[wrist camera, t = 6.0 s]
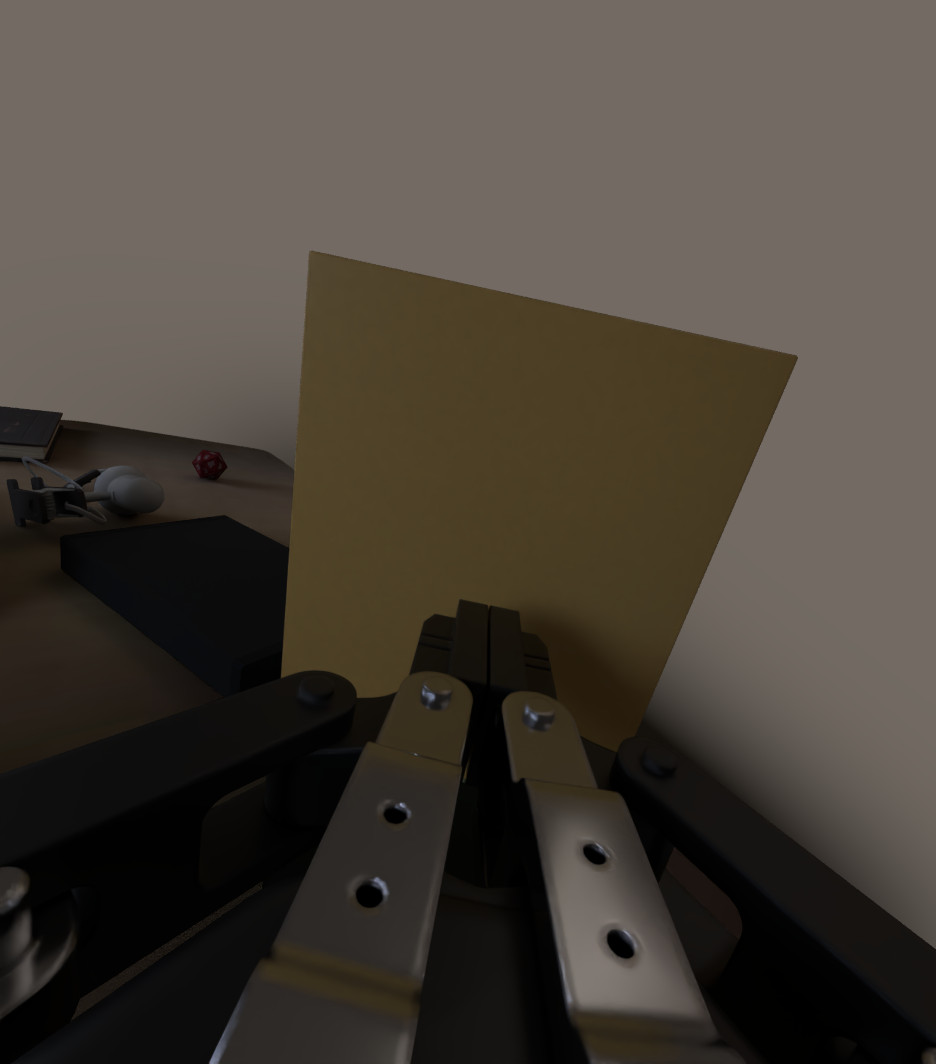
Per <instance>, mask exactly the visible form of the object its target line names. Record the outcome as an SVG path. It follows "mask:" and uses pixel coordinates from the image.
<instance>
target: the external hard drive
mask: <svg viewBox="0 0 936 1064" xmlns="http://www.w3.org/2000/svg"><path fill="white" fill-rule="evenodd" d="M60 548H61V569H62V570H63V571H65V572H66V573H67V574H69V575H70V576H71V577H72V578H74V579H75V580H76V581H77V582H79V583H80V584H81V585H83V586H84V587H85V588H86V589H88V590H89V591H90V592H91V593H93V594H94V595H95V596H97V597H98V598H99V599H100V600H102V601H103V602H104V603H105V604H107V605H108V606H109V607H111V608H112V609H113V610H114V611H116V612H117V613H118V614H119V615H121V616H122V617H123V618H125V619H126V620H127V621H128V622H130V623H131V624H132V625H133V626H135V627H136V628H137V629H139V630H140V631H141V632H142V633H144V634H145V635H146V636H147V637H149V638H150V639H151V640H153V641H154V642H155V643H156V644H158V645H159V646H160V647H161V648H163V649H164V650H165V651H167V652H168V653H169V654H170V655H172V656H173V657H174V658H175V659H177V660H178V661H179V662H181V663H182V664H183V665H184V666H186V667H187V668H188V669H189V670H191V671H192V672H193V673H195V674H196V675H197V676H198V677H200V678H201V679H202V680H203V681H205V682H206V683H207V684H209V685H210V686H211V687H212V688H214V689H215V690H216V691H217V692H219V693H220V694H221V695H223V696H224V697H227V696H230V695H233V694H236V693H239V692H242V691H245V690H248V689H251V688H253V687H256V686H259V685H262V684H265V683H268V682H271V681H274V680H277V679H280V678H281V670H282V655H283V640H284V625H285V610H286V594H287V579H288V564H289V549H290V548H288V547H286V546H284V545H282V544H280V543H278V542H276V541H274V540H272V539H270V538H268V537H266V536H264V535H263V534H261V533H259V532H257V531H255V530H253V529H251V528H249V527H247V526H245V525H243V524H241V523H239V522H237V521H235V520H233V519H231V518H229V517H227V516H225V515H222V516H214V517H206V518H198V519H190V520H182V521H174V522H166V523H158V524H150V525H142V526H134V527H126V528H119V529H111V530H103V531H95V532H87V533H79V534H71V535H64V536H62V537H61V538H60Z"/></svg>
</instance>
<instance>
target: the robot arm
mask: <svg viewBox="0 0 936 1064" xmlns="http://www.w3.org/2000/svg"><path fill="white" fill-rule="evenodd" d="M465 770H466V780H465V785H468V786H473V787H478V799H477V803H476V807H475V811H474V815H473V818H472V832H473V855H474V878H475V886H474V885H471V884H469V883H467V882H465V881H463V880H461V879H458V878H456V877H454V876H452V875H450V874H447V873H445V872H443V871H444V866H445V860H446V855H447V849H448V844H449V838H450V833H451V827H452V822H453V816H454V811H455V805H456V800H457V795H458V789H459V784H462V782H463V778H464V774H465ZM265 775H267V777H266V782H264V783H262V784H260V785H258V786H256V787H254V788H252V789H250V790H248V791H246V792H244V793H242V794H240V795H238V796H236V797H234V798H232V799H230V800H228V801H226V802H224V803H222V804H220V805H218V806H216V807H214V808H212V809H210V808H211V807H212V806H213V805H214V804H215V803H216V802H217V801H218V800H219V799H221V798H222V797H223V796H225V795H227V794H228V793H230V792H232V791H234V790H236V789H239V788H241V787H243V786H245V785H247V784H249V783H251V782H253V781H255V780H257V779H259V778H261V777H263V776H265ZM317 845H319V847H318V849H317V851H316V853H315V855H314V857H313V860H312V862H311V864H310V866H309V868H308V870H307V872H304V873H301V874H297V875H294V876H290V877H288V878H285V879H283V880H280V881H278V882H276V883H273V884H271V885H269V886H267V887H266V888H264V889H262V890H260V891H258V892H256V893H255V894H253V895H251V896H250V897H248V898H247V899H245V900H244V901H242V902H241V903H240V904H238V905H237V906H235V907H234V908H232V909H231V910H230V911H228V912H227V913H225V914H224V915H222V916H221V917H220V918H218V919H217V920H215V921H214V922H212V923H211V924H210V925H208V926H207V927H205V928H204V929H202V930H201V931H200V932H198V933H197V934H195V935H194V936H192V937H191V938H190V939H188V940H187V941H185V942H184V943H182V944H181V945H180V946H178V947H177V948H175V949H174V950H172V951H171V952H169V953H168V954H167V955H165V956H164V957H162V958H161V959H159V960H158V961H157V962H155V963H154V964H152V965H151V966H149V967H148V968H147V969H145V970H144V971H142V972H141V973H139V974H138V975H137V976H135V977H134V978H132V979H131V980H129V981H128V982H127V983H125V984H124V985H122V986H121V987H119V988H118V989H117V990H115V991H114V992H112V993H111V994H109V995H108V996H107V997H105V998H104V999H102V1000H101V1001H99V1002H98V1003H97V1004H95V1005H94V1006H92V1007H91V1008H89V1009H88V1010H87V1011H85V1012H84V1013H82V1014H81V1015H79V1016H78V1017H77V1018H75V1019H74V1020H72V1021H71V1019H72V1017H73V1015H74V1013H75V1011H76V1008H77V1005H78V1002H79V999H80V998H82V997H84V996H85V995H87V994H88V993H90V992H91V991H93V990H94V989H96V988H97V987H99V986H101V985H102V984H104V983H105V982H107V981H108V980H110V979H111V978H113V977H114V976H116V975H118V974H119V973H121V972H122V971H124V970H125V969H127V968H128V967H130V966H132V965H133V964H135V963H136V962H138V961H139V960H141V959H142V958H144V957H145V956H147V955H149V954H150V953H152V952H153V951H155V950H156V949H158V948H159V947H161V946H162V945H164V944H166V943H167V942H169V941H170V940H172V939H173V938H175V937H176V936H178V935H179V934H181V933H183V932H184V931H186V930H187V929H189V928H190V927H192V926H193V925H195V924H196V923H198V922H200V921H201V920H203V919H204V918H206V917H207V916H209V915H210V914H212V913H213V912H215V911H217V910H218V909H220V908H221V907H223V906H224V905H226V904H227V903H229V902H230V901H232V900H234V899H235V898H237V897H238V896H240V895H241V894H243V893H244V892H246V891H248V890H249V889H251V888H252V887H254V886H255V885H257V884H258V883H260V882H261V881H263V880H265V879H266V878H268V877H269V876H271V875H272V874H274V873H275V872H277V871H278V870H280V869H282V868H283V867H285V866H286V865H288V864H289V863H291V862H292V861H294V860H295V859H297V858H299V857H300V856H302V855H303V854H305V853H306V852H308V851H309V850H311V849H312V848H314V847H316V846H317ZM674 846H675V847H676V848H677V849H678V850H679V851H680V852H681V853H682V854H683V855H684V856H685V857H686V858H688V859H689V860H690V861H691V862H692V863H693V864H694V865H695V866H696V867H697V868H698V869H699V870H701V871H702V872H703V873H704V874H705V875H706V876H707V877H708V878H709V879H710V880H711V881H712V882H713V883H715V884H716V885H717V886H718V887H719V888H720V889H721V890H722V891H723V892H724V893H725V894H726V895H727V896H728V897H729V898H730V899H731V900H732V902H733V903H734V904H735V906H736V907H737V909H738V911H739V914H740V916H741V920H742V925H743V930H742V934H741V937H740V939H739V940H738V939H737V938H736V937H734V936H733V935H732V934H731V933H730V932H729V931H728V930H727V929H726V928H725V927H724V926H723V925H722V924H721V923H720V922H719V921H718V920H717V919H716V918H715V917H714V916H713V915H712V914H711V913H710V912H709V911H708V910H707V909H706V908H705V907H704V906H703V905H702V904H700V903H699V902H698V901H697V900H696V899H695V898H694V897H693V896H692V895H691V894H690V893H689V892H688V891H687V890H686V889H685V888H684V887H683V886H682V885H681V884H680V883H679V882H678V881H677V880H676V879H675V878H674V877H673V876H672V875H671V874H670V873H669V872H668V871H667V870H666V869H665V867H666V865H667V863H668V860H669V858H670V855H671V853H672V850H673V848H674ZM70 1021H71V1022H70ZM0 1064H936V949H935V948H933V947H932V946H931V945H929V944H928V943H927V942H925V941H924V940H923V939H922V938H920V937H919V936H917V935H916V934H915V933H913V932H912V931H911V930H910V929H908V928H907V927H906V926H905V925H903V924H902V923H901V922H899V921H898V920H897V919H895V918H894V917H893V916H892V915H890V914H889V913H887V912H886V911H885V910H884V909H882V908H881V907H880V906H879V905H877V904H876V903H875V902H873V901H872V900H871V899H869V898H868V897H867V896H865V895H864V894H863V893H861V892H860V891H859V890H858V889H856V888H855V887H854V886H853V885H851V884H850V883H848V882H847V881H846V880H845V879H843V878H842V877H841V876H839V875H838V874H837V873H836V872H834V871H833V870H832V869H830V868H829V867H828V866H826V865H825V864H824V863H822V862H821V861H820V860H819V859H817V858H816V857H815V856H813V855H812V854H811V853H810V852H808V851H807V850H806V849H804V848H803V847H802V846H800V845H799V844H798V843H796V842H795V841H794V840H793V839H791V838H790V837H789V836H787V835H786V834H785V833H783V832H782V831H781V830H779V829H778V828H777V827H776V826H774V825H773V824H772V823H770V822H769V821H767V819H765V818H764V817H762V816H761V815H760V814H759V813H757V812H756V811H755V810H753V809H752V808H751V807H749V806H748V805H747V804H745V803H744V802H743V801H742V800H740V799H739V798H738V797H736V796H735V795H734V794H733V793H731V792H730V791H729V790H727V789H726V788H725V787H723V786H722V785H721V784H720V783H718V782H717V781H716V780H714V779H713V778H712V777H710V776H709V775H707V774H706V773H705V772H704V771H703V770H701V769H700V768H699V767H697V766H696V765H695V764H693V763H692V762H691V761H690V760H688V759H687V758H686V757H684V756H683V755H682V754H680V753H679V752H678V751H676V750H675V749H673V748H671V747H670V746H668V745H666V744H664V743H662V742H659V741H657V740H653V739H650V738H645V737H630V738H627V739H625V740H623V741H622V742H621V743H620V745H619V748H618V751H617V752H615V751H612V750H610V749H608V748H605V747H603V746H601V745H598V744H596V743H594V742H592V741H589V740H588V739H586V738H584V737H582V736H581V735H579V732H578V729H577V726H576V723H575V720H574V718H573V716H572V714H571V713H570V711H569V710H568V709H567V708H566V707H565V706H564V705H562V704H561V703H560V702H558V699H557V694H556V689H555V684H554V679H553V674H552V672H551V664H550V661H549V654H548V649H547V646H546V645H545V644H544V643H543V641H542V640H541V639H540V638H539V637H538V636H537V634H532V633H527V632H522V631H521V623H520V614H519V611H516V610H511V609H507V608H502V607H497V606H492V605H490V607H489V609H488V605H487V604H482V603H477V602H472V601H468V600H463V599H459V603H458V607H457V612H456V617H455V618H454V617H449V616H444V615H440V614H434V615H432V616H431V617H429V618H428V619H427V620H425V621H424V623H423V626H422V630H421V634H420V637H419V641H418V644H417V648H416V652H415V655H414V659H413V662H412V666H411V670H410V673H409V676H408V677H406V678H405V679H404V680H403V681H402V683H401V684H400V687H399V689H398V691H397V692H395V693H392V694H390V695H386V696H381V697H372V698H357V692H356V689H355V687H354V686H353V684H352V683H351V682H350V681H349V680H347V679H346V678H344V677H342V676H340V675H338V674H335V673H332V672H328V671H321V670H310V671H302V672H298V673H294V674H291V675H288V676H286V677H283V678H280V679H277V680H274V681H271V682H268V683H265V684H262V685H259V686H256V687H253V688H251V689H248V690H245V691H242V692H239V693H236V694H233V695H230V696H227V697H224V698H221V699H218V700H216V701H213V702H210V703H207V704H204V705H201V706H198V707H195V708H192V709H189V710H186V711H183V712H181V713H178V714H175V715H172V716H169V717H166V718H163V719H160V720H157V721H154V722H151V723H149V724H146V725H143V726H140V727H137V728H134V729H131V730H128V731H125V732H122V733H119V734H116V735H114V736H111V737H108V738H105V739H102V740H99V741H96V742H93V743H90V744H87V745H84V746H81V747H79V748H76V749H73V750H70V751H67V752H64V753H61V754H58V755H55V756H52V757H49V758H46V759H44V760H41V761H38V762H35V763H32V764H29V765H26V766H23V767H20V768H17V769H14V770H11V771H9V772H6V773H3V774H0Z"/></svg>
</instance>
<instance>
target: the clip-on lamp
mask: <svg viewBox="0 0 936 1064" xmlns="http://www.w3.org/2000/svg"><path fill="white" fill-rule="evenodd" d="M22 461H23V463H24V465H25V466H26V468H27V469H28V470H29V472H30V473H31V474H32V475H33V476H34V478H31V484H32V489H33V490H23V489H19V487H18V483H17V480H16V479H9V480H7V486H8V491H9V495H10V500H11V505H12V510H13V514H14V519H15V523H16V525H17V526H25V525H26V521H25V519H27V520H30V521H34V522H38V523H46V522H50V520H53V519H54V518H60V517H84V516H85V517H87V518H89V519H91V520H92V521H94V522H96V523H98V524H101V525H104V524H105V523H106V521H107V520H106V518H105V517H104V515H103V514H102V513H101V512H100V511H98V510H97V509H96V508H93V507H87V504H86V502H95V501H98V502H99V504H100V505H101V506H102V507H103V508H105V509H106V510H108V511H109V512H111V513H115V514H118V515H131V514H134V513H151V512H154V511H155V510H157V509H158V508H159V507H160V506H161V505H162V503H163V501H164V491H163V488H162V487H161V486H160V485H159V484H158V483H157V482H155V481H153V480H150V479H148V478H147V476H146V475H145V474H144V473H142V472H141V471H139V470H138V469H135V468H132V467H129V466H116V467H112V468H109V469H107V470H105V469H100V470H92V471H90V472H88V473H86V474H84V475H82V476H81V477H79V478H77V479H75V480H73V481H72V480H71V479H69V478H68V477H66V476H64V475H63V474H61V473H59V472H57V471H56V470H54V469H52V468H50V467H48V466H46V465H44V464H42V463H40V462H38V461H36V460H34V459H31V458H29V457H23V458H22ZM26 461H30V462H32V463H34V464H37V465H39V466H41V467H43V468H44V469H46V470H48V471H50V472H52V473H54V474H55V475H57V476H59V477H61V478H62V479H64V480H66V481H67V482H69V483H68V484H66V485H64V487H50V486H48V485H46V484H45V483H44V482H43V479H42V478H41V477H38V476H37V475H36V474H35V473H34V472H33V471H32V470H31V468H30V467H29V466H28V464H27V462H26ZM100 472H102V473H100ZM99 475H100V476H99ZM98 476H99V477H98ZM96 477H98V478H97V480H96V482H95V485H94V492H88V493H84V492H83V489H82V488H81V487H82V486H83V485H85V484H87V483H89V482H91V480H92V479H94V478H96ZM44 486H46V487H44ZM90 512H91V513H93V514H95V515H96V516H95V515H93V514H91V513H90Z"/></svg>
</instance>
